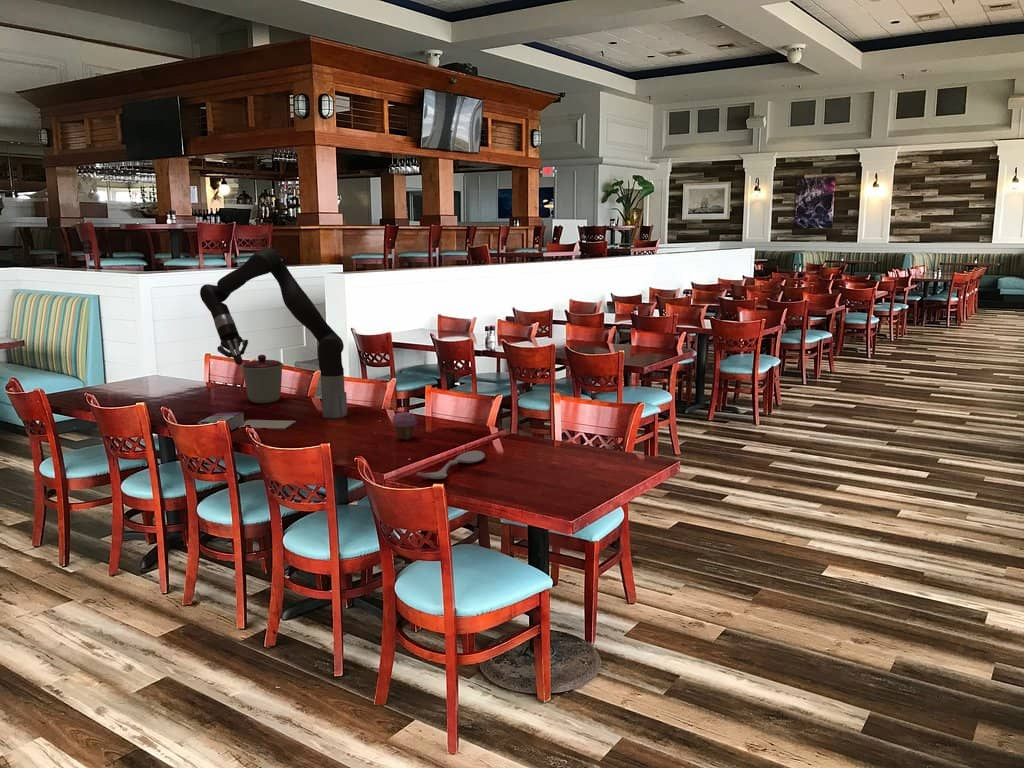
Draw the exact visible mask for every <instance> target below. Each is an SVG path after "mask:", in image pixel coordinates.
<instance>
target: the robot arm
mask: <svg viewBox="0 0 1024 768" xmlns="http://www.w3.org/2000/svg"><path fill="white" fill-rule="evenodd" d="M268 274H271V275H272V276H273V278H274V279H275V281H276V282H277V284H278V285H279V288H280V292H281V297H282V300H283V303H284V305H285V307H286V308H287V309H288V310H289V312H290V314H291V315H292V316H293V317H294V318H295V319H296V320H297V321H298V322H299V323H301V325H302V326H303V327H305V328H306V329H307V330H308V331H309V332H310V333H311V334H312V335H313V337H314V338H315V339H316V341H317V342H318V345H317V357H318V369H319V372H320V386H321V387H320V390H321V391H320V392H321V405H322V406H321V407H322V410H321V411H322V417H323V418H325V419H338V418H340V419H341V418H344V417H346V416H347V415H348V402H347V401H348V400H347V399H348V398H347V396H348V395H347V392H346V391H345V374H344V373H345V370H344V369H345V368H344V367H343V362H342V361H343V359H342V353H343V351H344V347H345V346H344V341H343V339H342V338H341V337H340V336H339V335H338V334H337V332H336V331H335V330H333V329H332V327H331V326H330V325H329V324H328V323H327V322H326V320H325V319H324V317H323V316H322V314H321V313H320V312H319V310H318V309H317V307H316V305H314V303H313V301H312V300H311V298H310V297H309V296H308V294H307V293H306V292H305V291H304V289H303V288H302V287H301V285H299V283H298V281H297V280H296V279H295V277H294V276H293V275H292V273H291V271H290V270H289V268H288V266H287V265H286V264H285V262H284V261H283V259H282V257H281V256H280V254H279V253H278V252H277V251H276V250H275V249H273V248H271V247H265V248H262V249H260V250H258V251H256V252H254V253H253V254H252V255H251V256H250V257H249V258H248V259H247V260H246V261H245V262H244V263H243V264H242V265H241V266H239V267H238V268H236V269H234V270H233V271H230V272H229V273H228V274H226V275H224V276H222V277H221V278H219V279H218V280H217V283H216V285H215V284H208V283H207V284H204V285H202V286H201V287H200V290H199V295H200V299H201V301H202V302H203V304H204V305H205V307H206V308H207V310H209V312H210V313H211V316H212V319H213V322H214V327H215V329H216V332H217V334H218V337H219V340H220V345H219V346H217V349H216V350H217V352H219V353H220V354H221V355H223V356H225V357H226V358H229V359H230V358H232V359H233V361H234V363H235V365H237V366H242V365H243V364H244V363H243V357H242V355H244V354H245V352H246V349H247V347H248V345H249V340H248V339H243V338H242V337H241V335H240V334H239V331H238V328H237V326H236V322H235V319H234V318H233V317H232V314H231V312H230V310H229V307H228V305H227V304H226V303H224V302H225V301H226V300H227V299H228V298H229V297H230V296H231V294H232V293H234V292H236V291H237V290H238V289H241V287H243V286H244V285H245V284H246V283H247V282H249V281H251V280H252V279H255V278H258V277H260V276H264V275H268ZM241 345H242V347H241V349H240V346H241Z"/></svg>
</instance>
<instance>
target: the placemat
mask: <svg viewBox="0 0 1024 768" xmlns="http://www.w3.org/2000/svg"><path fill="white" fill-rule="evenodd" d="M296 423H297V421H296V420H275V419H274V420H273V419H272V420H271V419H269V420H268V419H267V420H266V419H247V420H244V424H242V425H240V426H239V427H238V428H237V429H242V428H241V427H245V426H246V425H250V426H251V427H253V428H252V429H261V428H267V430H268V429H269V430H270V429H271V430H285V429H287V428H288V427H290V426H292V425H293V424H296ZM261 430H262V429H261Z"/></svg>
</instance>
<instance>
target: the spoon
mask: <svg viewBox="0 0 1024 768" xmlns="http://www.w3.org/2000/svg"><path fill="white" fill-rule="evenodd" d="M485 456H486V454H485V453H484V452H483V451H480V450H469V451H466V452H464V453H461V454H459V455H458V456H456V457H455V458H454V459H453V460H452V459H451V460H449V461H448V462H447V463H446V464H445V465H444V466H443V467H442V468H441V469H439V470H438V471H434V472H419V471H418V472H416V476H420V477H422V478H426V479H431V480H442V479H445V478H447V477H448V474H447V471H448V469H449V468H450V467H451V466H453V465H457V464H459V463H462V464H475V463H478V462H480V461H482V460H483V459H485Z"/></svg>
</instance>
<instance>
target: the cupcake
mask: <svg viewBox="0 0 1024 768" xmlns="http://www.w3.org/2000/svg"><path fill="white" fill-rule="evenodd" d="M417 422H418V419H417V417H416V416H415V415H414V414H413V413H411V412H409V411H403V412H396V414H394V415H393V418H392V425H393V427H394V429H395V432H396V435H397V438H398V439H399V440H404V441H406V440H411V439H412V438H414V435H415V428H416V427H415V426H416V425H418V424H417Z"/></svg>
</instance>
